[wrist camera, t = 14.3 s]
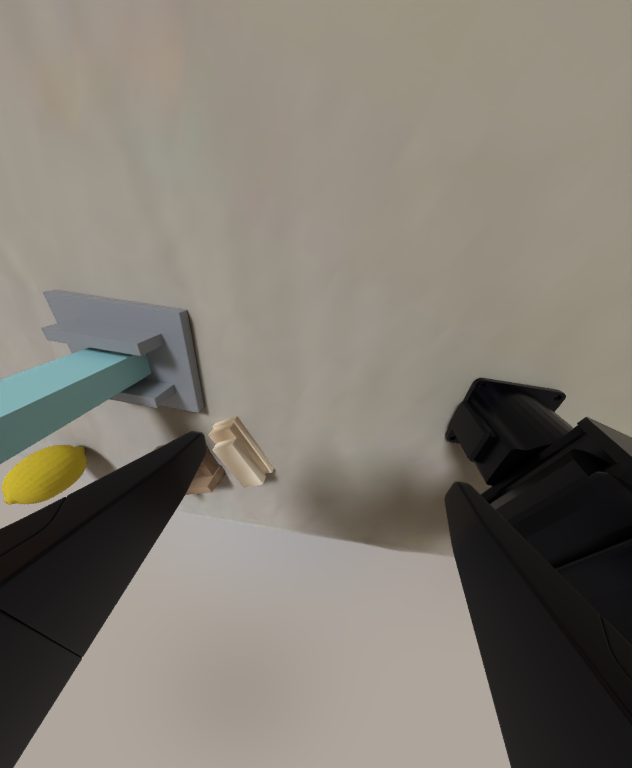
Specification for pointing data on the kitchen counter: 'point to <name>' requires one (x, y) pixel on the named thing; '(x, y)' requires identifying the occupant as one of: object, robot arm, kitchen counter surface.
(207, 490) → the stand
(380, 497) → the kitchen counter surface
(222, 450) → the offcut stack
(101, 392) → the teal rectangular block
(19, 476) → the lemon
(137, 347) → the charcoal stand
